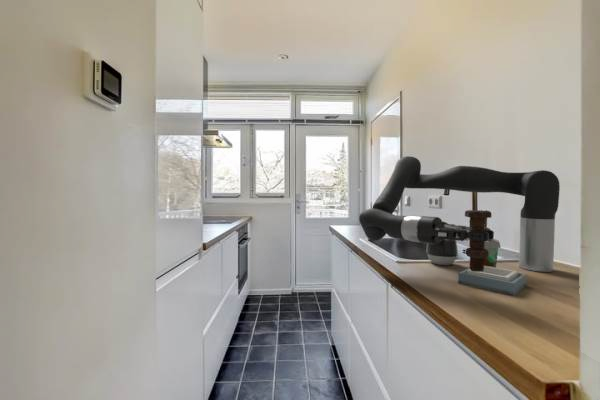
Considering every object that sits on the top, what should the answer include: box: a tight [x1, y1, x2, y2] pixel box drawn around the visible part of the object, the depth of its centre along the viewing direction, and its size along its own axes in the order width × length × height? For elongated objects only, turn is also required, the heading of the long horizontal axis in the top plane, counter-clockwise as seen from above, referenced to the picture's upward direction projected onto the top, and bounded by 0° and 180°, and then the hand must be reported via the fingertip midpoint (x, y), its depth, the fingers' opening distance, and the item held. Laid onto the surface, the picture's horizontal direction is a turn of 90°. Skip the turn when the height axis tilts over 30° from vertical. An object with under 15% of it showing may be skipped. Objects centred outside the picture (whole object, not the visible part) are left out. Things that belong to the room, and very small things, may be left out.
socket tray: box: [457, 266, 527, 296], centre depth 84 cm, size 13×13×4 cm
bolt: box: [464, 209, 492, 272], centre depth 75 cm, size 6×5×15 cm
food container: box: [484, 238, 501, 268], centre depth 101 cm, size 12×6×10 cm, turn 154°
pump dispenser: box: [425, 221, 459, 266], centre depth 108 cm, size 10×10×15 cm
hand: (490, 235), depth 73 cm, fingers closed on bolt, 3 cm apart
